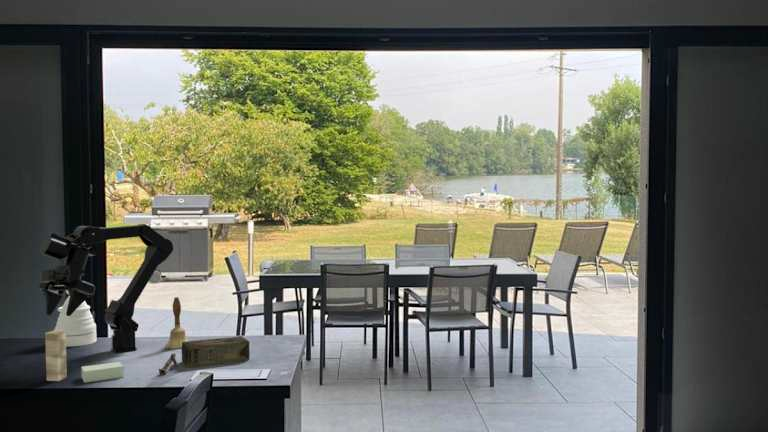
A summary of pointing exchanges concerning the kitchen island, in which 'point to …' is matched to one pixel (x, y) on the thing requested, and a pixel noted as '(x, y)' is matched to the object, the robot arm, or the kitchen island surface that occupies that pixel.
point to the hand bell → (176, 328)
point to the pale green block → (102, 372)
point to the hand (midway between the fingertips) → (57, 315)
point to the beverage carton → (215, 351)
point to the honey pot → (77, 325)
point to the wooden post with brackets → (172, 358)
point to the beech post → (56, 355)
